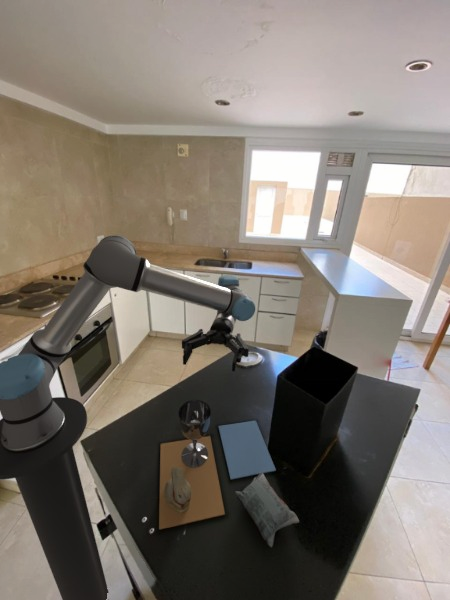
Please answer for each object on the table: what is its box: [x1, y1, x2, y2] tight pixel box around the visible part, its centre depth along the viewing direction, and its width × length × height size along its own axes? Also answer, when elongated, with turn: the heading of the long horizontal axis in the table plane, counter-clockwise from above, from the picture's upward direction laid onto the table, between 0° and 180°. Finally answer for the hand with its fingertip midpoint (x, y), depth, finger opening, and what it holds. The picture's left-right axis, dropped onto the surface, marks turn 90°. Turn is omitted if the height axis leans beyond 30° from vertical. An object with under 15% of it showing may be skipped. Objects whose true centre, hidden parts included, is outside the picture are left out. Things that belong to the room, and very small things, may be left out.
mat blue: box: [217, 420, 277, 480], centre depth 71 cm, size 16×12×1 cm
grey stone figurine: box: [165, 467, 191, 513], centre depth 56 cm, size 6×8×10 cm
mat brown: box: [158, 435, 226, 530], centre depth 63 cm, size 20×14×1 cm
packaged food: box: [234, 471, 300, 548], centre depth 55 cm, size 9×12×5 cm
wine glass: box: [178, 399, 212, 468], centre depth 65 cm, size 8×8×15 cm
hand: (208, 363), depth 68 cm, fingers open, 13 cm apart
